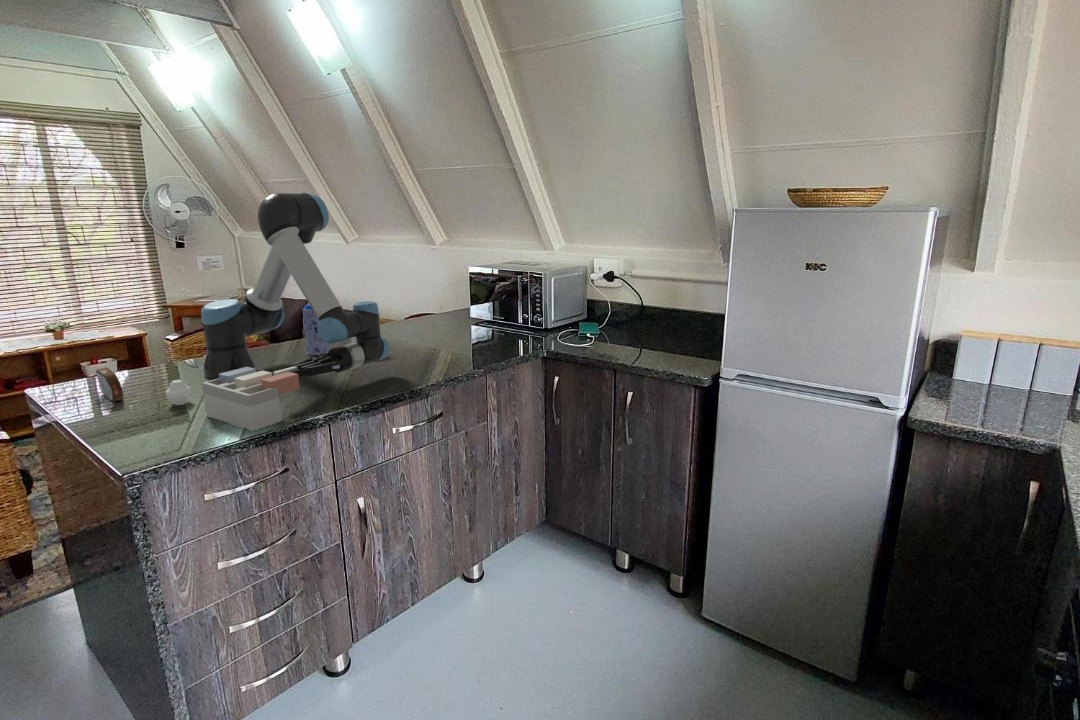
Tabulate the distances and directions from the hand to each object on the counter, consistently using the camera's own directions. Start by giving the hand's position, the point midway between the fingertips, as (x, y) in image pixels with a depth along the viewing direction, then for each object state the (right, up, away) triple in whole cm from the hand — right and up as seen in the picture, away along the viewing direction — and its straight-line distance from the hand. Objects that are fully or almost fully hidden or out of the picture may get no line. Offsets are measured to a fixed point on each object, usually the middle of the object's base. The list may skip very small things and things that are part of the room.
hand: (275, 377), depth 159 cm
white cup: (+6, +7, +58) cm, 59 cm away
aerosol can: (-11, +7, +59) cm, 60 cm away
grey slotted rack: (-5, -11, -6) cm, 14 cm away
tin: (-51, -7, +10) cm, 53 cm away
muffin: (-29, -8, +5) cm, 30 cm away
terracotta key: (+4, -3, -6) cm, 8 cm away
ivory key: (-3, -3, -5) cm, 7 cm away
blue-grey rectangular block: (-9, -2, -1) cm, 9 cm away
